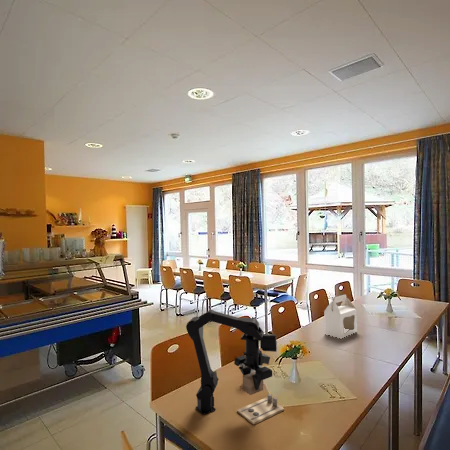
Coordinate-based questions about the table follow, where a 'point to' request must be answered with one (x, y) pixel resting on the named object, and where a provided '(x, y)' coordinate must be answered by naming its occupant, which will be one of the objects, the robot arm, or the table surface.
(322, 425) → the table surface
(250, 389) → the upright wooden block
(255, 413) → the guide board
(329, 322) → the gable box
